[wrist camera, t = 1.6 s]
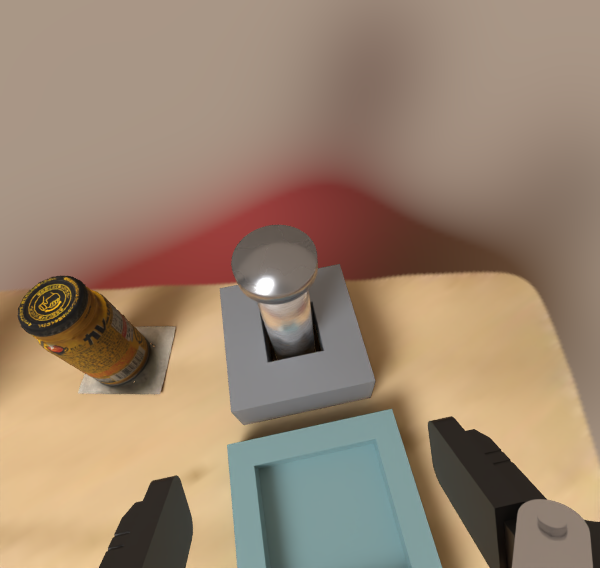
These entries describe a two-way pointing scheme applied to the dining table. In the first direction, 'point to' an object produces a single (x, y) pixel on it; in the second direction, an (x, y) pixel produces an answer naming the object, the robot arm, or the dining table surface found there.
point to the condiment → (96, 338)
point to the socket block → (301, 369)
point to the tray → (329, 499)
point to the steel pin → (280, 284)
